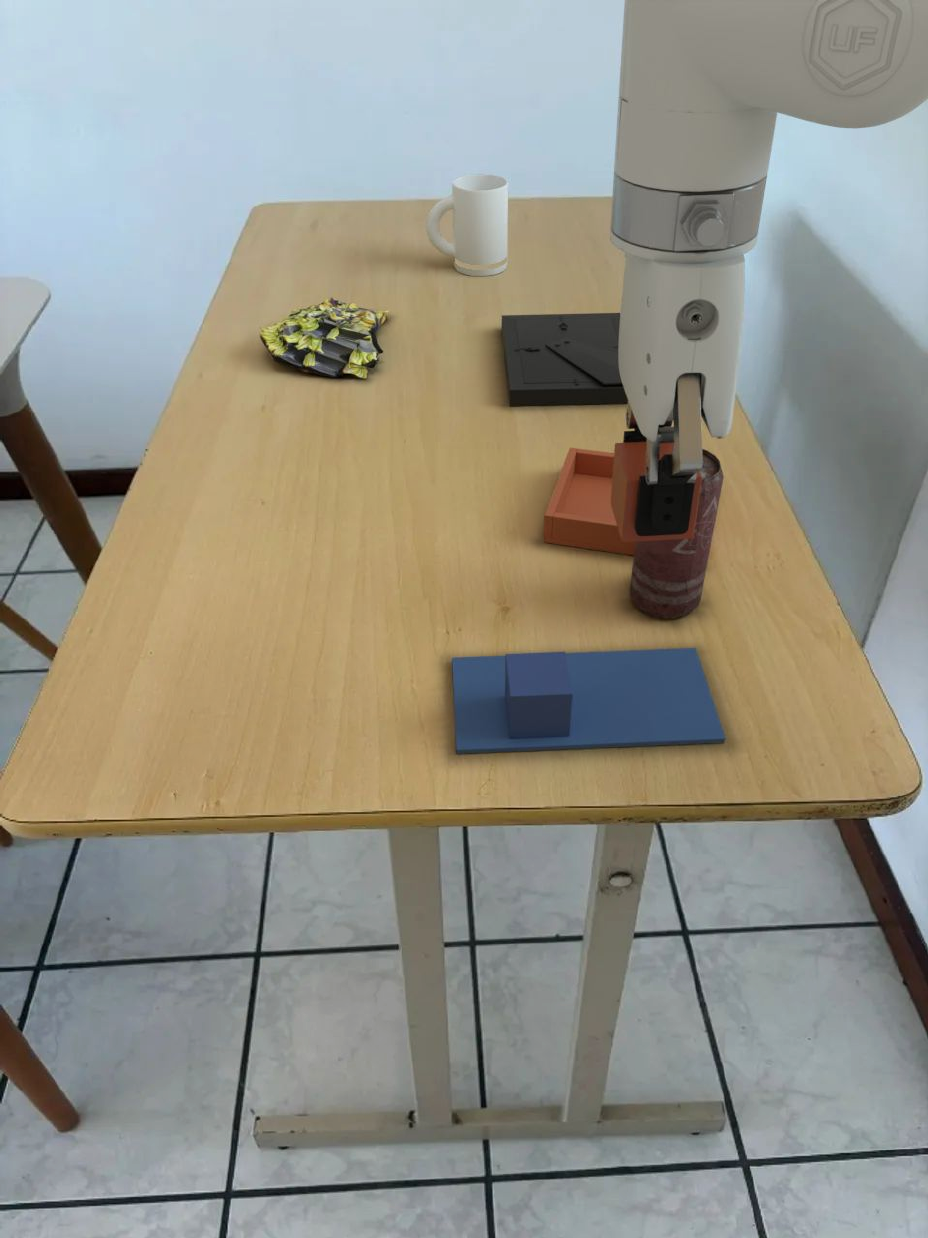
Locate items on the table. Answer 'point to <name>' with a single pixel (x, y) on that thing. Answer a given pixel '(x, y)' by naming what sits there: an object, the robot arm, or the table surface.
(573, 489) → the terracotta tray
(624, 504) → the terracotta block
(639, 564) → the can
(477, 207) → the mug
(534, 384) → the picture frame
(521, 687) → the blue block
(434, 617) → the table surface
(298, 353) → the banana patterned fabric
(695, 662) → the blue mat
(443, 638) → the table surface
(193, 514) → the table surface
